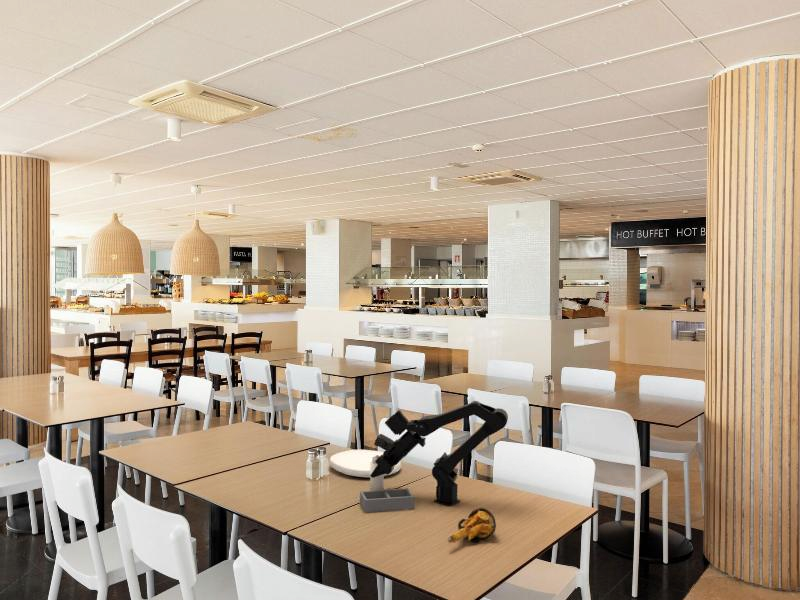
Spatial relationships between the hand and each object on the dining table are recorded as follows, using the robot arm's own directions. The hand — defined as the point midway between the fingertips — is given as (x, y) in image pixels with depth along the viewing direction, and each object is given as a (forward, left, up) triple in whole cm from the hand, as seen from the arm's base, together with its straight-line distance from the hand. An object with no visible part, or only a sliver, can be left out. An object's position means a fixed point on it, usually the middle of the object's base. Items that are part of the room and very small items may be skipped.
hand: (373, 474), depth 210 cm
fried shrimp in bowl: (-47, +10, -7) cm, 49 cm away
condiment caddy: (-11, +5, -7) cm, 14 cm away
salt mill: (-1, -1, -7) cm, 7 cm away
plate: (+22, -20, -7) cm, 30 cm away
